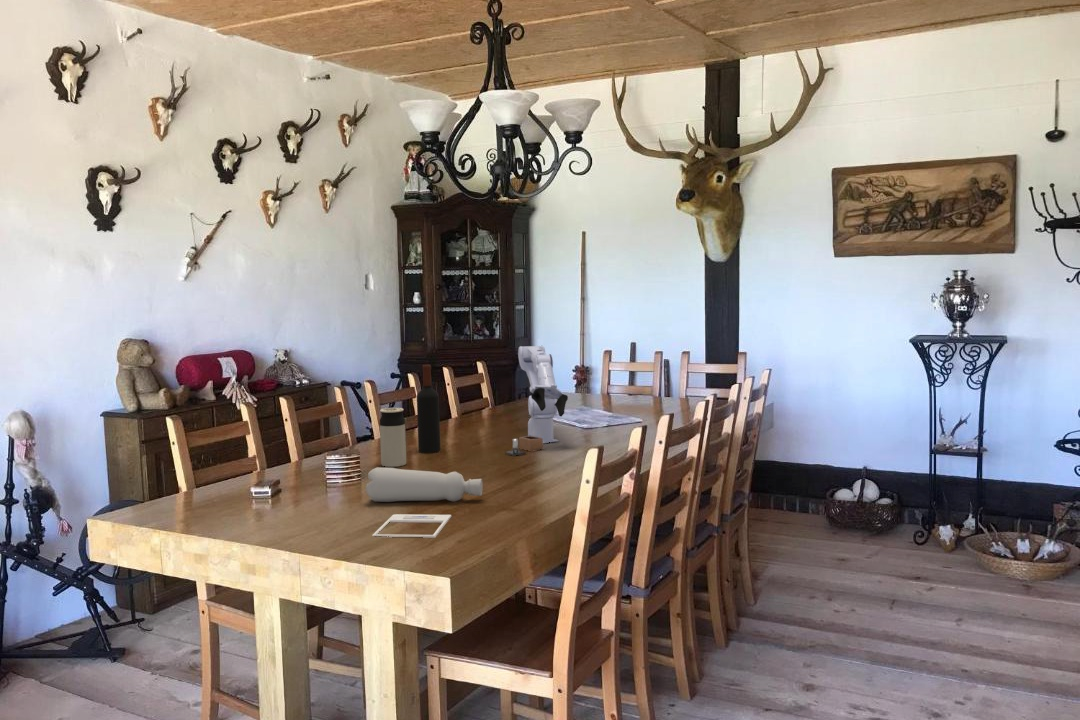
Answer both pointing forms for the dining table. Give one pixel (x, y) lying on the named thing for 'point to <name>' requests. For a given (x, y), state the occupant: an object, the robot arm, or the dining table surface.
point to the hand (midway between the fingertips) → (552, 411)
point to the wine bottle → (428, 415)
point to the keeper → (515, 449)
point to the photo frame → (415, 518)
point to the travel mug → (392, 437)
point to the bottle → (419, 485)
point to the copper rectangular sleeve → (530, 443)
